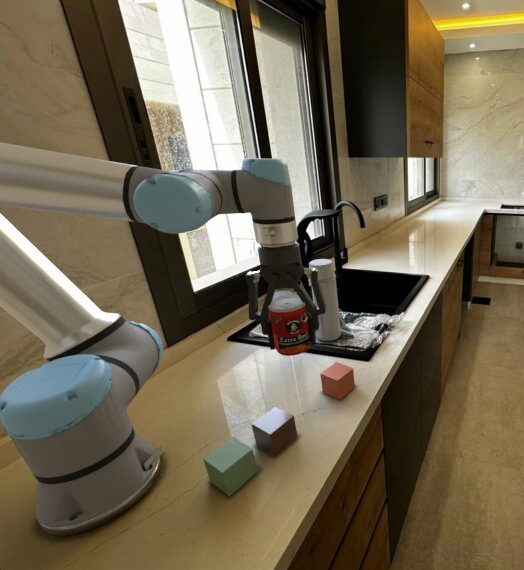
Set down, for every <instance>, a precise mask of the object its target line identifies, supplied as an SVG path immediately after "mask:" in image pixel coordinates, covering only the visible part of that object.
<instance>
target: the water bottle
mask: <svg viewBox="0 0 524 570" xmlns="http://www.w3.org/2000/svg"><path fill="white" fill-rule="evenodd" d="M314 267H317V268H318V281H319V284H320V287H321V291H322V294H323V297H324V301H325V304H326V312H325V313H324V314H320V315H319V329H318V330H316V331H317V337H318V339H319V340H320V341H323V342H332V341H335V340H338V339H339V338H340V337H341V335H342V329H341V318H340V310H339V300H338V298H339V297H338V289H337V288H338V287H337V279H336V278H337V275H336V273H335V269H334V263H333V260H332V259H329V258H319V259H317V258H316V259H313V260H311V261H310V262H309V263H308V268H312V269H313V268H314ZM308 283H309V284H311V279H308ZM311 293H312V294H311V295H312V301H313V303H314V304H315V306H316V307H318V304H317V301H316V298H315V295H314V291H313V288H312V285H311Z"/></svg>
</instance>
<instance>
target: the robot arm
mask: <svg viewBox="0 0 524 570" xmlns="http://www.w3.org/2000/svg"><path fill="white" fill-rule="evenodd" d="M240 168H241V169H233V170H231V169H230V170H227V169H226V170H225V169H224V170H223V169H191V168H187V169H178V170H165V169H164V170H163V169H160V168H159V169H158V168H153V167H147V166H138V165H134V164H128V163H122V162H116V161H111V160H105V159H100V158H94V157H87V156H84V155H83V156H82V155H78V154H77V155H76V154H71V153H64V152H59V151H53V150H47V149H42V148H36V147H31V146H24V145H19V144H14V143H8V142H2V141H0V207H7V208H15V209H17V208H18V209H24V210H34V211H43V212H50V213H58V214H67V215H75V216H83V217H90V218H91V217H92V218H98V219H99V218H100V219H106V220H107V219H108V220H115V221H123V222H124V221H125V222H131V223H141V224H146V225H148V226H150V227H151V228H153V229H155V230H157V231H159V232H162V233H166V234H172V235H173V234H175V235H176V234H177V235H178V234H179V235H180V234H184V233H188V232H193V231H196V230H198V229H200V228H202V227H203V226H205V225H206V224H207V223H208V222H209V221H210V220H212V219H214V218H215V217H217V216H219V215H232V214H233V215H234V214H235V215H236V214H250V216H251V220H252V226H253V231H254V237H255V241H256V244H258V246H257V247H256V249H257V254H258V259H259V264H260V265H259V266H260V267H259V270H257V271H253V270H249V271H248V272H247V273H246V274H245V276H244V280H245V282H246V284H247V287H248V288H247V291H248V292H247V293H248V295H247V296H248V319H249V321H257V322H259V323H260V328H261V334H262V335H263V336H267V338H268V343H269V350H271V351H273V350H276V348H275V343H274V338H273V333H272V327H271V322H270V317H269V311H268V305H270V304H271V302H272V300H273V296H274V293H275V292H276V290H281V289H292V290H293V292H294V293H295V294H297V295H298V296H299V298H300V299H301V301H302V302H305V305H306V308H307V310H308V312H309V317H308V322H309V329H310V336H311V346H316V343H317V335H316V334H317V333H316V331H317V330H318V329H319V315H320V314H324V313H325V312H326V304H325V301H324V297H323V294H322V291H321V287H320V284H319V281H318V268H317V267H314V268H313V269H312V268H309V267H306V266H305V265H304V263H303V262H302V257H301V250H300V243H299V242H298V240H299V233H298V226H297V220H296V213H295V205H294V195H293V188H292V187H293V186H292V181H291V177H290V172H289V166H288V164H287V162H286V161H285V160H284V159H282V158H268V157H267V158H265V157H264V158H261V157H260V158H257V157H256V158H255V157H254V158H253V157H251V158H250V157H249V158H248V157H246V158H243V159H242V160H241V167H240ZM304 275H306V277H307V279H308V280H309V279H310V282H311V283H310V284H311V285H312V286H311V289H312V288H313V291H314V295H315V298H316V301H317V304H318V307H316V306H315V304H314V301H313V298H312V297H311V296H310V295H309V293H308V292H307V290H306V288H305V287H304V284H303V282H302V281H301V279H302V277H303V276H304ZM260 277H261V278H262V279H263V281H265V283H267V284H268V287H267V290H266V294H265V298H264V301H263V305H262V308H261V311H259V281H261V280H260ZM0 307H1V309H3V310H4V311H6V312H7V313H8V314H9V315H11V316H12V317H13V318H14V319H15V320H17V321H18V322H19V323H20V324H21V325H23V326H24V328H26V329H27V330H29V331H30V332H31V333H32V334H34V335H35V336H36V337H37V338H38V339H39V340H40V341H42V342H43V343H44V344H45V348H44V352H43V356H42V357H43V359H45V360H46V361H48V362H45V363H42V364H41V366H40V367H38V368H32V369H30V370H28V371H26V372H24V373H23V374H21V375H20V376H18V377H17V378H16V379H14V380H13V381H12V382H11V383H9V384H8V385H7V386H6V387H5V388H4V390H3V391H2V392H1V394H0V422H1V426H2V429H3V431H4V432H5V434H7V435H9V438H10V439H11V441H12V442H13V444H14V446H15V447H16V449H17V451H18V452H19V454H20V456H21V457H22V458H23V460H24V462H25V463H26V465H27V466H28V468H29V470H30V472H31V473H32V474H33V476H34V478H35V480H36V481H37V490H36V510H35V518H36V520H37V522H38V524H39V525H40V527H41V529H42V530H43V531H44V532H46V534H49V535H53V536H71V535H76V534H79V533H84V532H87V531H90V530H92V529H95V528H97V527H100V526H102V525H103V524H106V523H107V522H110V521H111V520H113V519H115V518H117V517H118V516H119V515H121V514H123V513H124V512H125V511H127V510H128V509H130V508H131V507H133V506H134V505H135V504H136V503H137V502H139V501H140V500H141V499H142V498H144V496H145V495H146V494H147V493H148V492H149V491H150V490H151V488H152V487H153V486H154V485H155V484H156V482H157V480H158V479H159V478H160V474H161V473H162V469H163V461H162V458H161V455H162V454H163V453H164V450H163V447H162V445H160V446H159V447H158V448H155V446H153V445H152V444H150V443H149V442H148V441H147V440H146V439H144V437H143V438H142V436H141V435H139V434H137V433H136V430H135V429H134V426H133V424H132V420H131V419H130V416H129V414H128V408H129V406H130V404H131V403H132V401H133V400H134V399H135V398H136V396H137V395H138V393H139V392H140V391H141V390H142V388H143V387H144V385H145V384H146V383H147V381H148V380H149V378H150V377H151V376H152V375H154V373H155V372H156V371H157V368H159V364H160V362H161V360H162V358H163V354H164V346H163V345H164V344H163V341H162V339H161V338H160V335H159V334H158V333H157V332H156V331H155V330H154V329H153V328H151V326H148V325H147V324H144V323H142V322H140V323H138V322H135V321H134V320H133V321H132V320H126V318H124V317H123V316H122V314H120V313H116V312H105V311H103V310H101V308H99V307H98V306H97V305H96V304H95V303H94V302H93V301H92V300H91V299H90V298H89V297H88V296H87V295H86V294H85V293H84V292H83V291H82V290H81V289H80V288H79V287H78V286H77V285H76V284H75V283H73V282H72V281H71V280H70V279H69V277H68V276H66V275H65V274H64V273H63V272H62V271H61V270H60V269H59V268H58V267H57V266H56V265H55V264H54V263H53V262H52V261H51V260H50V259H49V258H47V257H46V255H45V254H43V253H42V251H40V250H39V249H38V248H37V247H36V246H35V244H33V243H32V242H31V241H30V240H29V239H28V238H27V237H26V236H24V234H23V233H22V232H21V231H19V230H18V229H17V227H16V226H14V225H13V224H12V223H11V222H10V221H9V220H8V219H7V218H6V217H5V216H4V215H3V214H2V213H0Z"/></svg>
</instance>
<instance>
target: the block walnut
mask: <svg viewBox="0 0 524 570" xmlns="http://www.w3.org/2000/svg"><path fill="white" fill-rule="evenodd" d="M250 424H251V427H252V434H253V437H254V441H255V445H256V446H257V447H258V448H259V449H262V450H264V451H265V452H266V453H268V454H270V455H271V456H273V457H276V456H277V455H278V454H280V453H281V452H282V451H283V450H284V449H285V448H286V447H288V446H289V445H290V444H291V443H292V442H293V441H295V440H296V439H297V438H298V430H297V426H296V420H295V416H294V414H291V413H290V412H287V411H285V410H283V409H281V408H279V407H277V406H276V405H275V406H273V407H272V408H271V409H270V410H268V411H267V412H266V413H264V414H263V415H262V416H260V417H259V418H258V419H256V420H254V421H253V422H252V423H250Z"/></svg>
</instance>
